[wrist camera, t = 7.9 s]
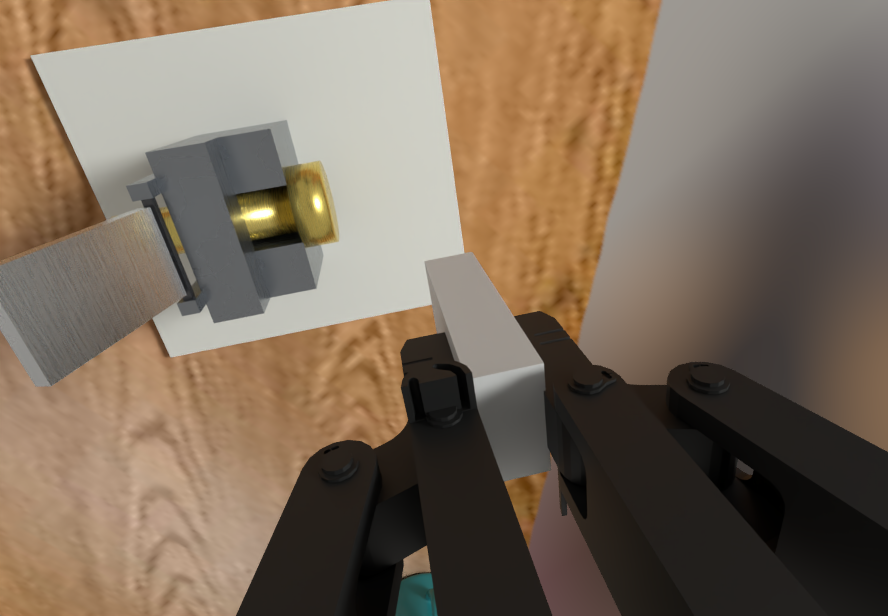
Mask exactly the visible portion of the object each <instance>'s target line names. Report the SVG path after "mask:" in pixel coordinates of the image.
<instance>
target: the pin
mask: <svg viewBox="0 0 888 616" xmlns="http://www.w3.org/2000/svg"><path fill="white" fill-rule="evenodd" d="M236 196H237V199H238V202H239V205H240V208H241V211H242V214H243V217H244V220H245V223H246V226H247V229H248V232H249V235H250V238H251V241H253V240H258V239H263V238H269V237H274V236H279V235H285V234H290V233H295V232H299V235H300V237H301V239H302V241H303V243H304V245H305V246H306V247H307V248H309V247H314V246H319V245H325V244H330V243H335V242H339V228H338V222H337V216H336V211H335V206H334V202H333V197H332V193H331V189H330V186H329V182H328V179H327V175H326V172H325V170H324V167H323V165H322V163H321V161H314V162H308V163H303V164H297V165H292V166H287V168H286V185H284V186H279V187H273V188H267V189H262V190H256V191H251V192H245V193H240V194H236ZM159 209H160V211H161V214H162V216H163V218H164V221H165V223H166V226H167V228H168V231H169V233H170V235H171V238H172V240H173V243H174V245H175V248H176V250H177V252H178V254H183V253H185V250H184V248H183V245H182V243H181V241H180V238H179V236H178V233H177V231H176V228H175V226H174V223H173V221H172V218H171V216H170V213H169V211H168V208H167V207H161V208H159ZM117 216H118V215H117ZM113 217H116V216H113ZM113 217H111V218H113ZM111 218H110V219H111Z"/></svg>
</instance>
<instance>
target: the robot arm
mask: <svg viewBox="0 0 888 616" xmlns="http://www.w3.org/2000/svg"><path fill="white" fill-rule="evenodd" d="M424 262H425V268H426V273H427V279H428V285H429V290H430V296H431V302H432V307H433V313H434V319H435V324H436V330H437V334H433V335H428V336H423V337H419V338H414V339H409V340H407V341H406V342H405V344H404V346H403V348H402V350H401V352H400V353H401V360H402V367H403V373H404V378H403V380H402V385H401V390H402V394H403V399H404V403H405V408H406V412H407V416H408V422H407V424H406V426H405V427H404V429H403V430H402V431H401V433H399V434H398V435H397V436H396V437H395V438H394V439H392V440H390V441H388V442H387V443H385V444H383V445H381V446H379V447H377V448H375V449H372V448H371V446H369V445H367V444H365V443H363V442H361V441H353V440H346V441H341V442H336V443H333V444H331V445H328V446H326V447H324V448H322V449H320V450H319V451H318V452H316V453H315V454H314V455H313V456H311V457H310V458H309V460H308V461H307V463H306V464H305V466H304V467H303V468H302V471H301V473H300V475H299V477H298V479H297V482H296V484H295V486H294V488H293V491H292V493H291V495H290V497H289V499H288V502H287V504H286V506H285V508H284V510H283V513H282V515H281V517H280V519H279V522H278V524H277V526H276V528H275V530H274V533H273V535H272V537H271V539H270V542H269V544H268V546H267V548H266V550H265V553H264V555H263V557H262V559H261V562H260V564H259V566H258V568H257V570H256V573H255V575H254V577H253V579H252V582H251V584H250V586H249V588H248V590H247V593H246V595H245V597H244V599H243V601H242V604H241V606H240V608H239V610H238V613H237V615H236V616H395V615H396V609H397V603H398V596H399V590H400V584H401V578H402V572H403V566H404V562H403V559H404V558H406V557H407V556H409V555H411V554H413V553H414V552H416V551H418V550H419V549H421V548H423V547H424V546H426V545H427V548H428V555H429V562H430V569H431V576H432V582H433V589H434V596H435V603H436V610H437V616H552V614H551V611H550V608H549V605H548V603H547V600H546V597H545V594H544V591H543V589H542V586H541V584H540V580H539V577H538V575H537V572H536V569H535V566H534V564H533V561H532V558H531V555H530V553H529V550H528V547H527V544H526V541H525V539H524V536H523V533H522V530H521V528H520V525H519V522H518V519H517V517H516V514H515V511H514V508H513V505H512V503H511V500H510V497H509V494H508V492H507V489H506V486H505V483H504V481H507V480H511V479H516V478H520V477H524V476H529V475H533V474H537V473H541V472H546V471H550V470H551V463H550V453H551V455H552V457H553V459H554V461H555V462H556V464H557V466H558V480H559V497H560V509H561V513H562V516H565V515H567V504H568V506H569V508H570V510H571V512H572V514H573V516H574V518H575V521H576V523H577V525H578V527H579V529H580V531H581V533H582V535H583V537H584V539H585V541H586V543H587V545H588V547H589V549H590V551H591V554H592V556H593V558H594V560H595V562H596V564H597V566H598V568H599V570H600V572H601V574H602V576H603V578H604V580H605V582H606V584H607V587H608V589H609V591H610V593H611V595H612V597H613V599H614V601H615V603H616V605H617V607H618V609H619V611H620V613H621V615H622V616H888V452H887V451H885V450H883V449H881V448H879V447H877V446H875V445H874V444H872V443H870V442H868V441H866V440H864V439H862V438H861V437H859V436H857V435H855V434H853V433H851V432H849V431H847V430H845V429H844V428H842V427H840V426H838V425H836V424H834V423H832V422H830V421H829V420H827V419H825V418H823V417H821V416H819V415H817V414H815V413H813V412H812V411H810V410H808V409H806V408H804V407H802V406H800V405H798V404H797V403H794V402H792V401H791V400H789V399H787V398H785V397H783V396H782V395H780V394H778V393H776V392H774V391H772V390H770V389H768V388H766V387H765V386H763V385H761V384H759V383H757V382H755V381H753V380H751V379H749V378H747V377H746V376H744V375H742V374H740V373H738V372H736V371H734V370H732V369H730V368H727V367H724V366H722V365H719V364H713V363H708V362H690V363H686V364H682V365H678V366H677V367H675V368H674V369H672V370H671V371H670V373H669V375H668V378H667V385H630V384H627V383H625V381H624V380H623V379H622V378H621V377H620V376H619V375H618V374H617V373H615V372H614V371H612V370H611V369H608V368H605V367H602V366H598V365H592V363H591V362H590V361H589V360H588V359H587V357H586V356H585V355H584V354H583V352H582V351H581V350H580V349H579V347H578V346H577V345H576V344H575V342H574V341H573V340H572V339H570V336H569V335H568V334H567V333H566V331H565V330H563V328H562V326H561V325H560V324H559V323H558V322H557V320H556V319H555V318H553V317H551V316H549V315H547V314H545V313H543V312H541V311H537V312H532V313H528V314H523V315H518V316H513V314H512V313H511V311H510V310H509V308H508V307H507V305H506V304H505V302H504V301H503V299H502V297H501V296H500V294H499V293H498V291H497V290H496V288H495V287H494V285H493V284H492V282H491V280H490V279H489V277H488V276H487V274H486V273H485V271H484V270H483V268H482V267H481V265H480V263H479V262H478V260H477V259H476V257H475V256H474V254H473V253H472V252H468V253H463V254H458V255H453V256H448V257H443V258H438V259H433V260H427V261H424ZM738 459H739V460H741V461H742V462H743V463H745V464H746V465H748V466H749V467H751V468H752V469H753V470H754V471H753V475H748V474H747V473H745V472H743V471H741V470H740V469H739V468H737V462H738Z"/></svg>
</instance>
